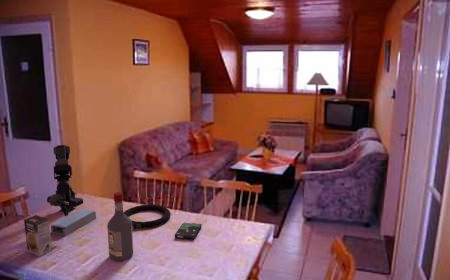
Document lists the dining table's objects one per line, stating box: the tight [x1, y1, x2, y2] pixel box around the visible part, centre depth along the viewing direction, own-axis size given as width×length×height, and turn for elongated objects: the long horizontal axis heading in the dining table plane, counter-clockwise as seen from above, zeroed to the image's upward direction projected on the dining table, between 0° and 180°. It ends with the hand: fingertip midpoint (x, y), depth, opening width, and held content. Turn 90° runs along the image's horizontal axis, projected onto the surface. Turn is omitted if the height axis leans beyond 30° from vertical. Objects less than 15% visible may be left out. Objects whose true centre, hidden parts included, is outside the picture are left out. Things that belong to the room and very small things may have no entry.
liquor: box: [106, 191, 134, 263], centre depth 156 cm, size 9×9×30 cm
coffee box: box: [23, 214, 52, 257], centre depth 161 cm, size 9×6×16 cm
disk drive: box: [174, 222, 202, 241], centre depth 182 cm, size 10×3×15 cm
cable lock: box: [124, 204, 171, 232], centre depth 197 cm, size 28×4×30 cm
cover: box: [50, 208, 96, 228], centre depth 188 cm, size 9×22×1 cm, turn 160°
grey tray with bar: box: [50, 211, 97, 237], centre depth 188 cm, size 9×23×4 cm, turn 160°
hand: (66, 215), depth 181 cm, fingers closed
